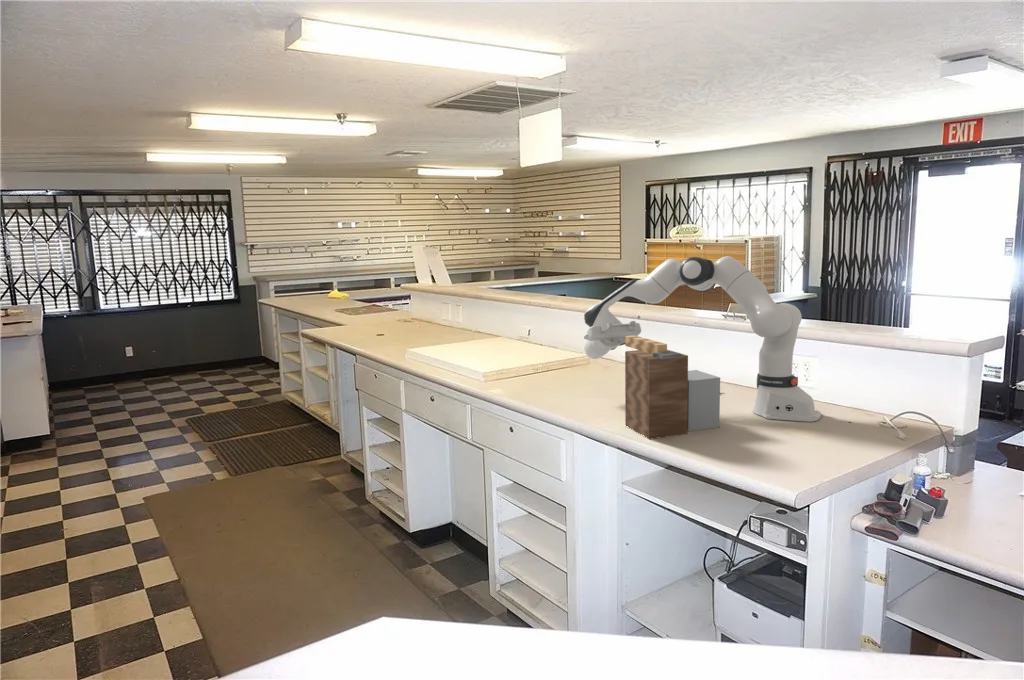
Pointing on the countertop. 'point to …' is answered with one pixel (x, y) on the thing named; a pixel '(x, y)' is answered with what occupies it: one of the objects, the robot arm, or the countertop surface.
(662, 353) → the wooden bar
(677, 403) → the pedestal
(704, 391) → the step
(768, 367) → the robot arm
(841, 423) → the countertop surface
